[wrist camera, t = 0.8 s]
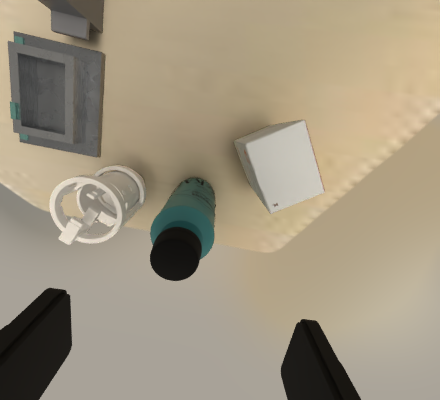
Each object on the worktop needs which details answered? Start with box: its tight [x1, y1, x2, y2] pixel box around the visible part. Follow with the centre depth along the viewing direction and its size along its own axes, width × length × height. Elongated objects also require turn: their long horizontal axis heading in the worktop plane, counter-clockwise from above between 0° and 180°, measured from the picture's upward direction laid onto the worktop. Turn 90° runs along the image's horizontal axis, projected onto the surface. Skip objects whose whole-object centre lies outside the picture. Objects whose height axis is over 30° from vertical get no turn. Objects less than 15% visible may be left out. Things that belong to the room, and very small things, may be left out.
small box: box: [234, 120, 325, 214], centre depth 28 cm, size 8×6×13 cm
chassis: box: [8, 32, 105, 157], centre depth 29 cm, size 14×11×4 cm
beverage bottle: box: [150, 178, 216, 281], centre depth 26 cm, size 6×7×20 cm
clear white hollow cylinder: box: [50, 165, 146, 245], centre depth 28 cm, size 7×7×15 cm
